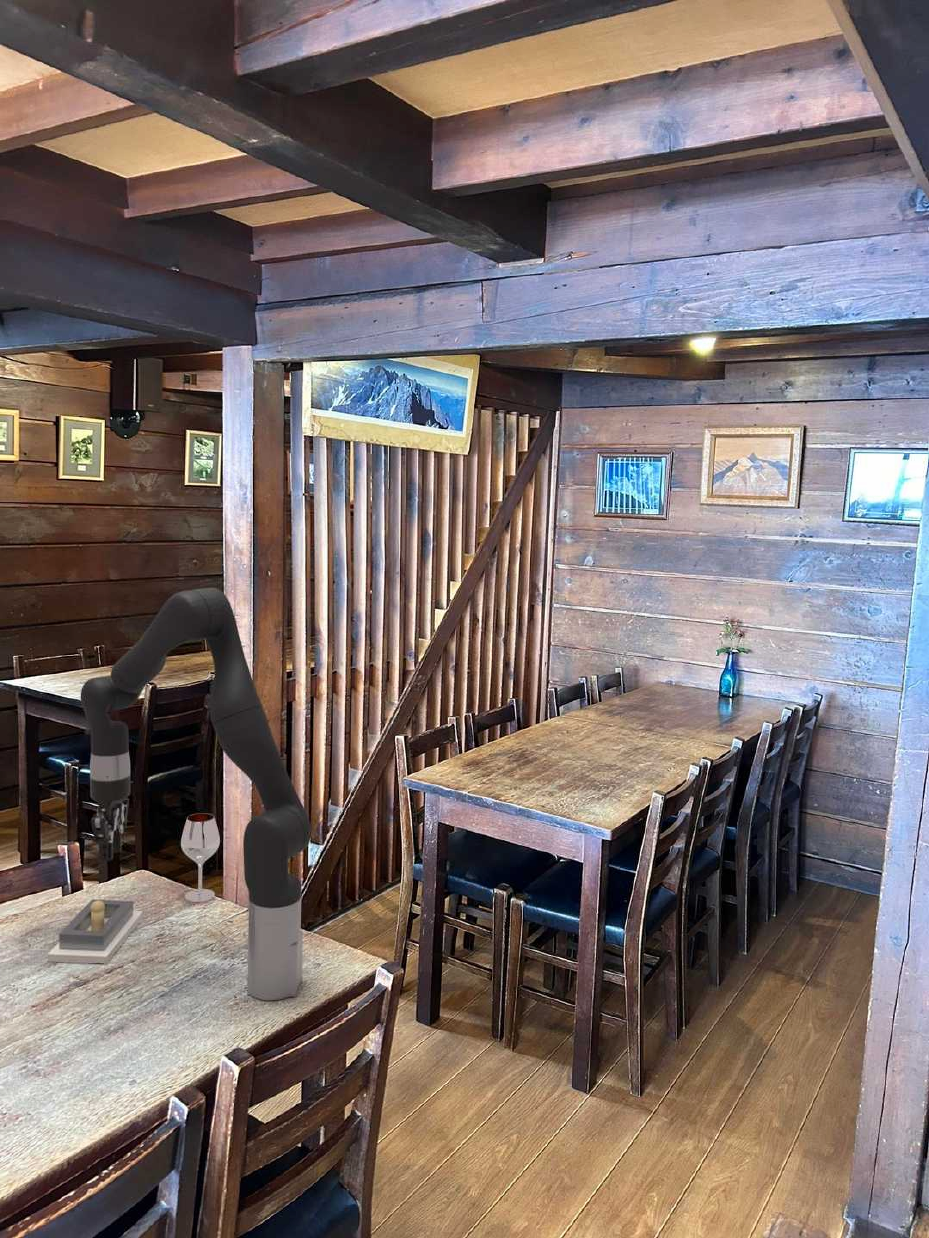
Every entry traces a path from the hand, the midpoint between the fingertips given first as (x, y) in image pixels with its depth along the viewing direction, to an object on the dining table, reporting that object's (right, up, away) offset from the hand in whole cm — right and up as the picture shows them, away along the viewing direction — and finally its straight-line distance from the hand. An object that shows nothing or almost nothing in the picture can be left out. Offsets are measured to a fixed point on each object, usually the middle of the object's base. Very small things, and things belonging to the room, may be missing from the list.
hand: (111, 855), depth 182 cm
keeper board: (-1, -15, -5) cm, 16 cm away
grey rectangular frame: (-1, -14, -5) cm, 15 cm away
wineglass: (+13, -13, +16) cm, 25 cm away
